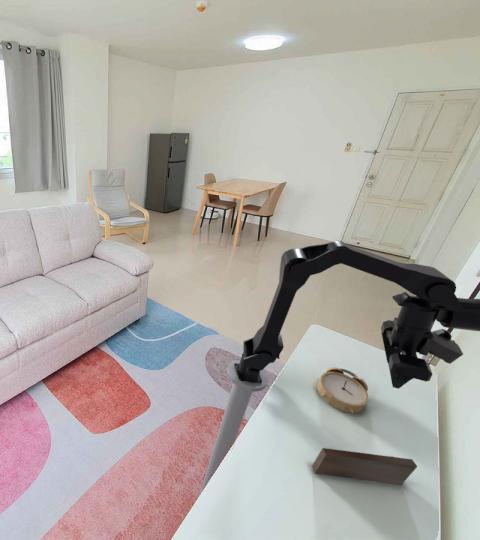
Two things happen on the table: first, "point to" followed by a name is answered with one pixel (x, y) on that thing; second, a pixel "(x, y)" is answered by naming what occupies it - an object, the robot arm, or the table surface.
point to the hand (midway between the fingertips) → (392, 374)
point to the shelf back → (363, 466)
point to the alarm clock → (343, 390)
